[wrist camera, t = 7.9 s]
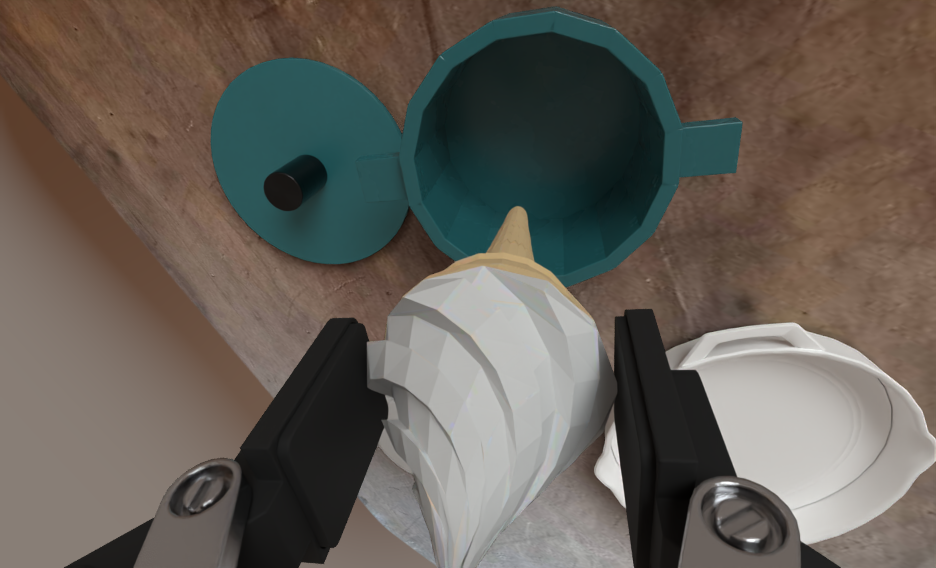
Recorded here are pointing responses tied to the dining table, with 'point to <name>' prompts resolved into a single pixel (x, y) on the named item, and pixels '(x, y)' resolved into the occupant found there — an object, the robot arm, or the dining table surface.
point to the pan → (803, 424)
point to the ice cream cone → (489, 389)
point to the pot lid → (305, 159)
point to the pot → (546, 143)
